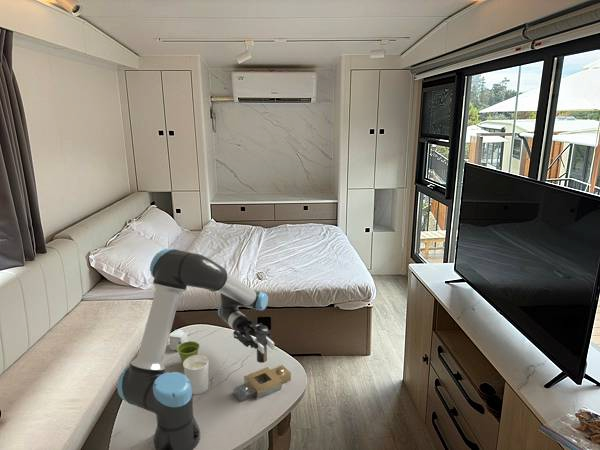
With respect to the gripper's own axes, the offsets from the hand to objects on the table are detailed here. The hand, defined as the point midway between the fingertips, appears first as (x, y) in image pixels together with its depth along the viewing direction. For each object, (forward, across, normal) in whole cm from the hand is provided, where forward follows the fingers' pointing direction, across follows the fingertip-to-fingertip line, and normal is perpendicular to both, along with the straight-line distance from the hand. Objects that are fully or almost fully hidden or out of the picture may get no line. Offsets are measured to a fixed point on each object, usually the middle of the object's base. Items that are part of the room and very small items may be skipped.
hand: (268, 348), depth 160 cm
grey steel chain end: (-5, +3, -20) cm, 20 cm away
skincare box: (-52, +18, -20) cm, 58 cm away
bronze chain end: (-5, -3, -20) cm, 20 cm away
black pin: (-5, 0, -8) cm, 10 cm away
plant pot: (-36, +19, -20) cm, 45 cm away
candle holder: (-19, +22, -20) cm, 35 cm away
